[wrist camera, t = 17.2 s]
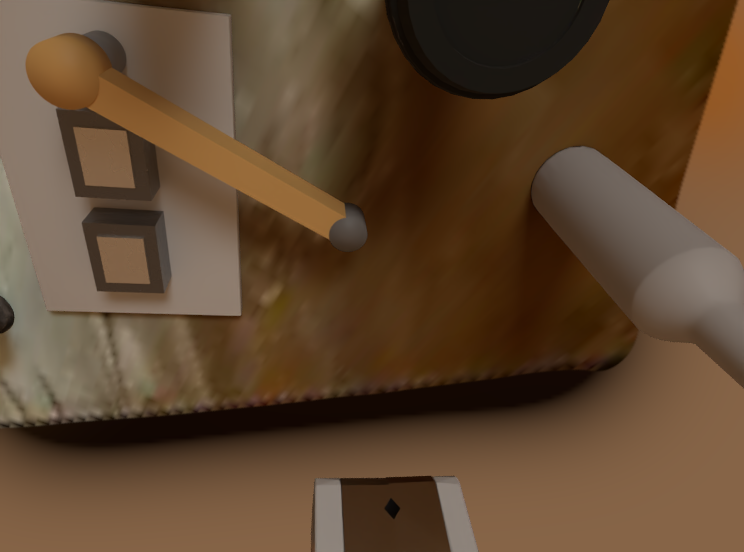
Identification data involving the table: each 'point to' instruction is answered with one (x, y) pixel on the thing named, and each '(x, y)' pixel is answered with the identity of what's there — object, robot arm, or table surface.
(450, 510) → the robot arm
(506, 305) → the table surface
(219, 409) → the table surface
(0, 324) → the dark grey tall piece
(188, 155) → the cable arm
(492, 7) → the coffee cup
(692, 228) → the bottle
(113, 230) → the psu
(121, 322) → the table surface
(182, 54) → the board
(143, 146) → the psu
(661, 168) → the table surface
